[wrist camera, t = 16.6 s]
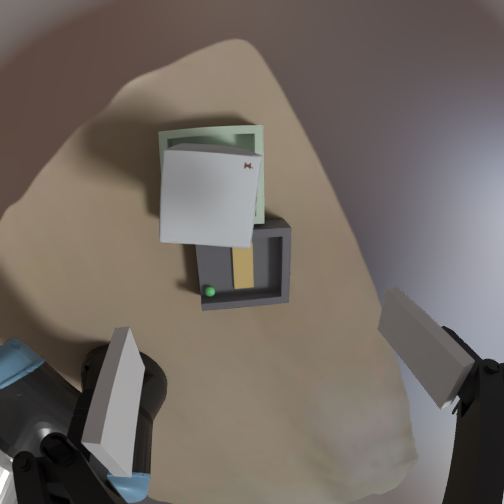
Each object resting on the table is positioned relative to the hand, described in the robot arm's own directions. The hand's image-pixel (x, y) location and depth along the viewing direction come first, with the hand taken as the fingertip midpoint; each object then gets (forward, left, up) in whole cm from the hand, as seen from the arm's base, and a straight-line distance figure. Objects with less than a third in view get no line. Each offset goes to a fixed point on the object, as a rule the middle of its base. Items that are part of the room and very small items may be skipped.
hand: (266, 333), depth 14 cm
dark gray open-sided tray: (+1, -6, -23) cm, 24 cm away
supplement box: (-2, +4, -23) cm, 23 cm away
